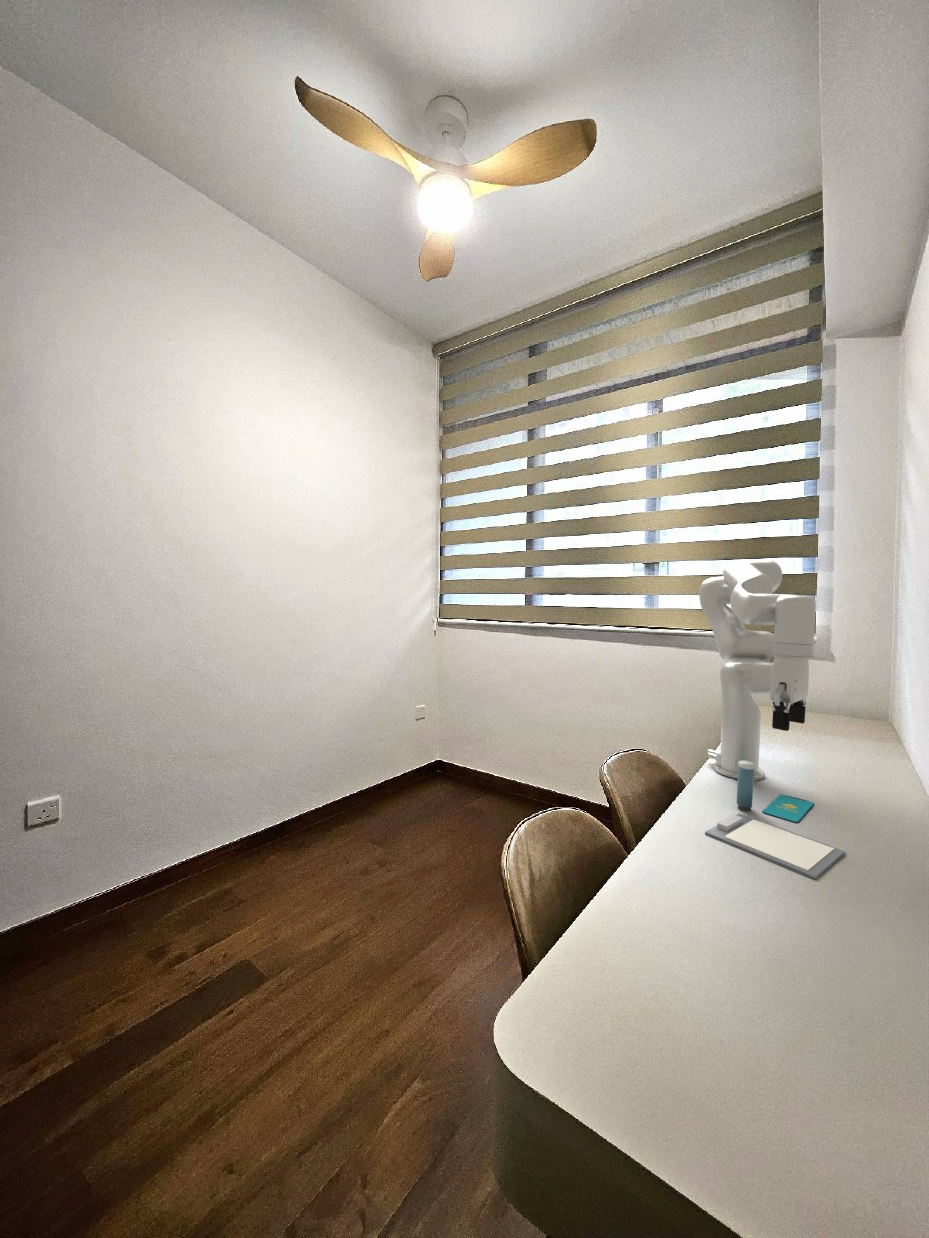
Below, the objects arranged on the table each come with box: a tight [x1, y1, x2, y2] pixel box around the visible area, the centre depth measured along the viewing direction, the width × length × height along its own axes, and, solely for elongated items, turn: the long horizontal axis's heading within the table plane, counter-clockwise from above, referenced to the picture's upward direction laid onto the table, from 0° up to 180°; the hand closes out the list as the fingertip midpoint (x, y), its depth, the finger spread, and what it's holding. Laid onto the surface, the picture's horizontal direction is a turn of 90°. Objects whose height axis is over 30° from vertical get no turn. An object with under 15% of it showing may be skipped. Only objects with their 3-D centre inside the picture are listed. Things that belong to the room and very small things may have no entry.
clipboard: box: [704, 812, 846, 880], centre depth 101 cm, size 20×15×2 cm
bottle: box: [736, 761, 755, 812], centre depth 117 cm, size 3×3×11 cm
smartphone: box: [762, 793, 815, 824], centre depth 118 cm, size 7×1×15 cm
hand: (788, 725), depth 113 cm, fingers open, 9 cm apart
